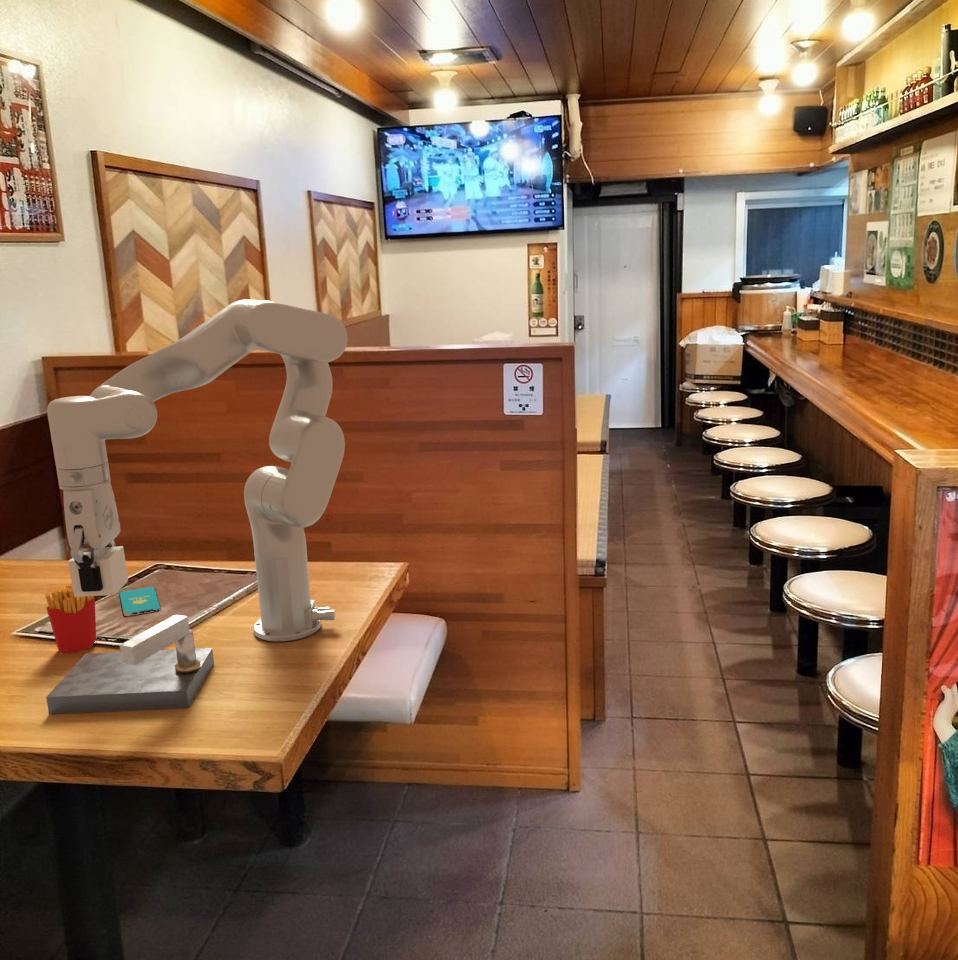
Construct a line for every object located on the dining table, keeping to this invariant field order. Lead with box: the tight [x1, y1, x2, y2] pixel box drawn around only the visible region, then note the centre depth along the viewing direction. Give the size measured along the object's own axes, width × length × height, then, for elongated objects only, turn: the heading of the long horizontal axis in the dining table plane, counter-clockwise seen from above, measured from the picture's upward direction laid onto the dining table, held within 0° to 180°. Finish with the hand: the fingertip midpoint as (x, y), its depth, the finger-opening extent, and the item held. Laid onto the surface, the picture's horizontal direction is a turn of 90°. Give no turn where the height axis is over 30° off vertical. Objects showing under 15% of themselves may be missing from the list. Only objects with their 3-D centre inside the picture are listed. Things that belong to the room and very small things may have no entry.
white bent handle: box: [119, 614, 200, 673], centre depth 146 cm, size 14×4×9 cm, turn 157°
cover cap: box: [67, 545, 129, 597], centre depth 148 cm, size 6×6×6 cm
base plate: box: [45, 647, 215, 715], centre depth 152 cm, size 22×16×3 cm
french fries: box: [44, 582, 97, 654], centre depth 168 cm, size 8×4×12 cm, turn 129°
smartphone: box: [119, 586, 162, 614], centre depth 191 cm, size 7×1×15 cm
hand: (100, 581), depth 148 cm, fingers closed on cover cap, 6 cm apart
